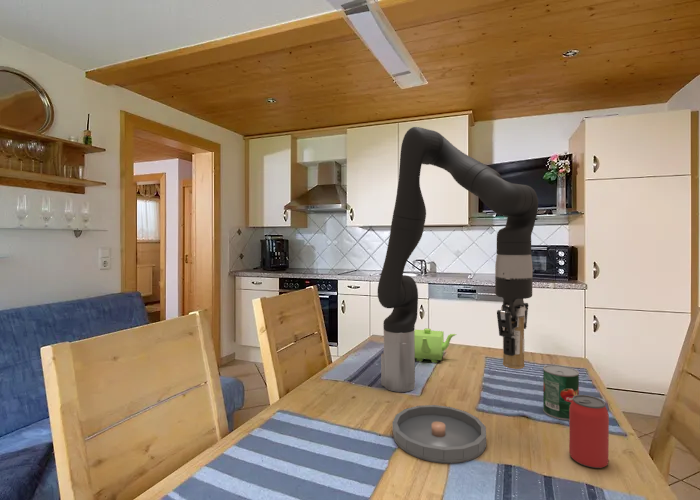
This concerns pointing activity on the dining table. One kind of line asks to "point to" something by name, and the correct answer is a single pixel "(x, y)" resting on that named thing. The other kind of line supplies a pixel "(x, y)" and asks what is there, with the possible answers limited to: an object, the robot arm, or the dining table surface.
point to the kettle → (430, 344)
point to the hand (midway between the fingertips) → (513, 351)
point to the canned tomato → (559, 390)
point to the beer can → (589, 431)
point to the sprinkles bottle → (516, 346)
